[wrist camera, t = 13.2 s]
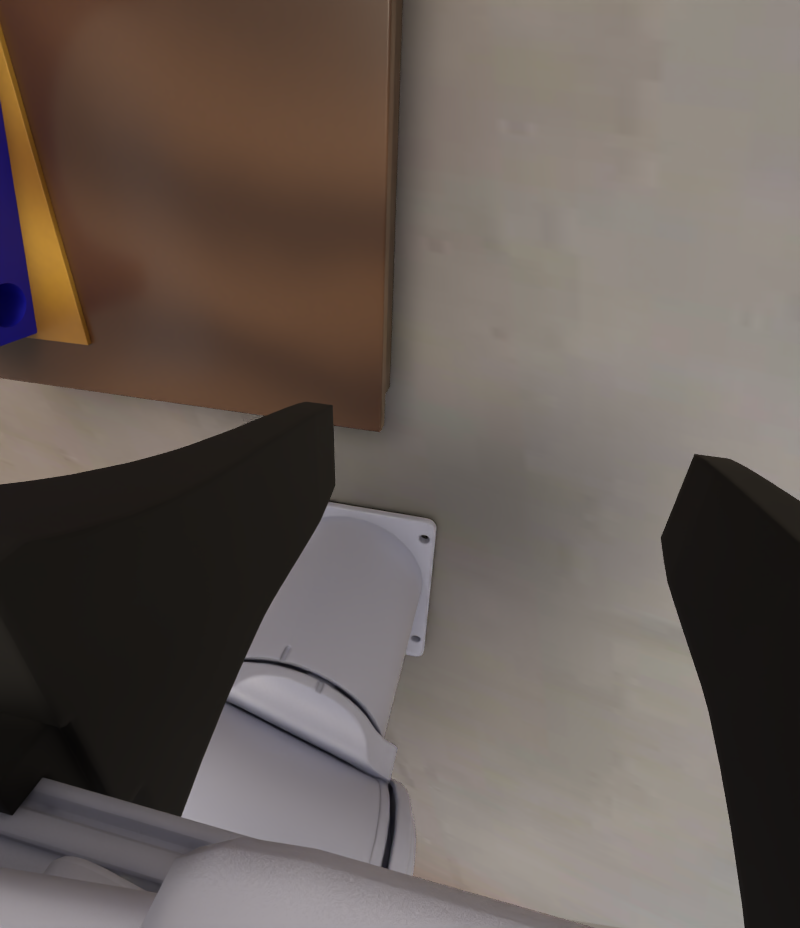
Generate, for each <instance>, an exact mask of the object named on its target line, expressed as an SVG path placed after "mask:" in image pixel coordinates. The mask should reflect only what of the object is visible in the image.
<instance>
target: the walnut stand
mask: <svg viewBox="0 0 800 928" xmlns="http://www.w3.org/2000/svg"><path fill="white" fill-rule="evenodd" d="M402 8H403V0H0V102H1V108H2V114H3V121H4V127H5V133H6V139H7V146H8V152H9V158H10V164H11V171H12V177H13V183H14V189H15V196H16V202H17V208H18V214H19V221H20V227H21V233H22V239H23V246H24V252H25V258H26V264H27V271H28V277H29V283H30V289H31V296H32V302H33V308H34V314H35V321H36V327H37V333H36V334H33V335H30V336H27V337H25V338H22V339H19V340H16V341H14V342H11V343H8V344H5V345H3V346H0V378H3V379H10V380H17V381H24V382H31V383H38V384H45V385H53V386H60V387H67V388H74V389H81V390H88V391H95V392H102V393H109V394H116V395H123V396H130V397H137V398H144V399H151V400H158V401H165V402H172V403H179V404H186V405H193V406H200V407H207V408H214V409H221V410H228V411H235V412H242V413H249V414H256V415H264V416H266V415H269V414H271V413H274V412H276V411H279V410H281V409H284V408H286V407H289V406H292V405H295V404H298V403H302V402H313V403H321V404H328V405H333V425H334V426H341V427H348V428H355V429H362V430H369V431H376V432H380V431H381V430H382V428H383V426H384V419H385V394H386V392H387V391H388V389H389V387H390V367H391V337H392V307H393V277H394V247H395V217H396V187H397V157H398V128H399V98H400V68H401V38H402Z"/></svg>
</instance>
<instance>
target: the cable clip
mask: <svg viewBox="0 0 800 928" xmlns="http://www.w3.org/2000/svg"><path fill="white" fill-rule="evenodd" d="M36 333H37V327H36V321H35V314H34V308H33V302H32V296H31V289H30V283H29V277H28V271H27V264H26V258H25V252H24V246H23V239H22V233H21V227H20V221H19V214H18V208H17V202H16V196H15V189H14V183H13V177H12V171H11V164H10V158H9V152H8V146H7V139H6V133H5V127H4V121H3V114H2V108H1V102H0V346H3V345H5V344H8V343H11V342H14V341H16V340H19V339H22V338H25V337H27V336H30V335H33V334H36Z"/></svg>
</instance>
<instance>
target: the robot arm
mask: <svg viewBox="0 0 800 928" xmlns="http://www.w3.org/2000/svg"><path fill="white" fill-rule="evenodd" d="M334 487H335V461H334V429H333V405H328V404H321V403H313V402H302V403H298V404H295V405H292V406H289V407H286V408H284V409H281V410H279V411H276V412H274V413H271V414H269V415H266V416H264V417H262V418H259V419H257V420H254V421H252V422H249V423H247V424H245V425H242V426H240V427H237V428H235V429H232V430H230V431H227V432H224V433H222V434H219V435H216V436H213V437H211V438H208V439H205V440H203V441H200V442H197V443H194V444H192V445H189V446H186V447H183V448H180V449H176V450H173V451H170V452H167V453H163V454H160V455H156V456H152V457H149V458H145V459H141V460H138V461H134V462H130V463H125V464H121V465H116V466H111V467H106V468H101V469H96V470H91V471H86V472H82V473H77V474H72V475H66V476H60V477H53V478H47V479H40V480H33V481H25V482H17V483H9V484H1V485H0V928H593V927H590V926H586V925H583V924H579V923H576V922H572V921H569V920H565V919H562V918H558V917H555V916H551V915H548V914H544V913H541V912H537V911H534V910H530V909H527V908H523V907H520V906H516V905H513V904H509V903H506V902H502V901H499V900H495V899H492V898H488V897H485V896H481V895H478V894H474V893H471V892H467V891H463V890H460V889H456V888H453V887H449V886H446V885H442V884H439V883H435V882H432V881H428V880H425V879H421V878H418V877H414V876H413V870H414V862H415V853H416V829H415V821H414V817H413V814H412V807H411V801H410V797H409V794H408V791H407V789H406V788H405V787H404V785H403V784H402V783H400V782H398V781H396V780H394V779H392V778H391V775H392V771H393V766H394V762H395V757H396V753H397V749H398V748H397V746H396V745H394V744H392V743H391V742H389V741H387V740H386V739H385V738H384V737H385V733H386V729H387V725H388V721H389V717H390V713H391V709H392V705H393V701H394V697H395V693H396V689H397V685H398V681H399V677H400V673H401V669H402V665H403V661H404V657H405V654H406V655H411V656H421V655H422V654H423V652H424V648H425V638H426V628H427V618H428V609H429V599H430V589H431V579H432V569H433V559H434V549H435V540H436V530H437V527H436V524H435V522H434V521H432V520H431V519H428V518H423V517H417V516H411V515H405V514H399V513H393V512H387V511H381V510H375V509H369V508H363V507H357V506H351V505H345V504H339V503H333V502H329V500H330V497H331V495H332V492H333V490H334ZM421 535H426V536H428V537H429V538H427V539H425V538H423V537H422V536H421ZM661 543H662V550H663V557H664V564H665V570H666V576H667V581H668V585H669V588H670V591H671V595H672V598H673V601H674V604H675V607H676V610H677V613H678V617H679V620H680V623H681V626H682V629H683V632H684V635H685V638H686V641H687V644H688V647H689V650H690V653H691V656H692V659H693V662H694V665H695V668H696V671H697V674H698V677H699V680H700V683H701V686H702V690H703V693H704V697H705V700H706V704H707V707H708V711H709V716H710V720H711V725H712V730H713V735H714V740H715V745H716V749H717V754H718V759H719V764H720V769H721V775H722V780H723V786H724V792H725V797H726V803H727V809H728V814H729V820H730V826H731V832H732V839H733V846H734V852H735V859H736V866H737V873H738V880H739V887H740V893H741V900H742V908H743V917H744V925H745V928H800V501H799V500H797V499H796V498H794V497H793V496H791V495H790V494H788V493H786V492H785V491H783V490H782V489H780V488H779V487H777V486H776V485H774V484H773V483H771V482H770V481H768V480H766V479H765V478H763V477H762V476H760V475H758V474H757V473H755V472H753V471H752V470H750V469H748V468H747V467H745V466H743V465H741V464H739V463H737V462H735V461H733V460H731V459H727V458H719V457H712V456H704V455H697V454H694V457H693V459H692V462H691V464H690V467H689V469H688V472H687V474H686V477H685V479H684V482H683V484H682V487H681V489H680V492H679V494H678V497H677V499H676V502H675V504H674V506H673V509H672V511H671V514H670V516H669V519H668V521H667V524H666V526H665V529H664V531H663V534H662V536H661Z"/></svg>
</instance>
